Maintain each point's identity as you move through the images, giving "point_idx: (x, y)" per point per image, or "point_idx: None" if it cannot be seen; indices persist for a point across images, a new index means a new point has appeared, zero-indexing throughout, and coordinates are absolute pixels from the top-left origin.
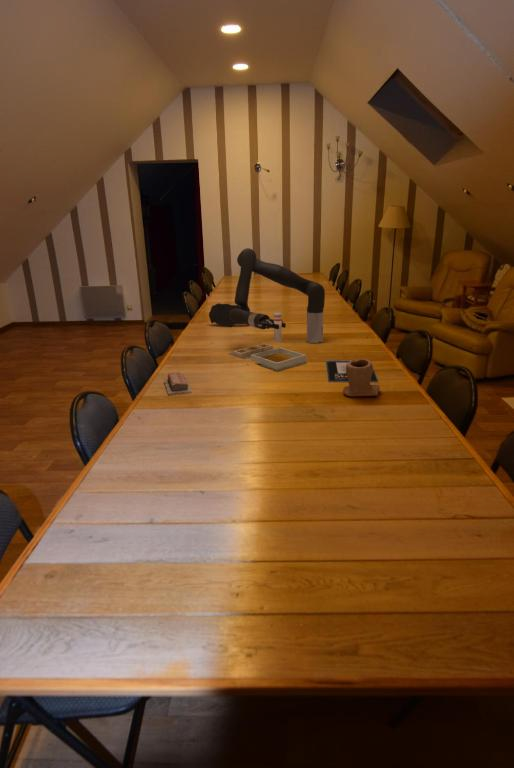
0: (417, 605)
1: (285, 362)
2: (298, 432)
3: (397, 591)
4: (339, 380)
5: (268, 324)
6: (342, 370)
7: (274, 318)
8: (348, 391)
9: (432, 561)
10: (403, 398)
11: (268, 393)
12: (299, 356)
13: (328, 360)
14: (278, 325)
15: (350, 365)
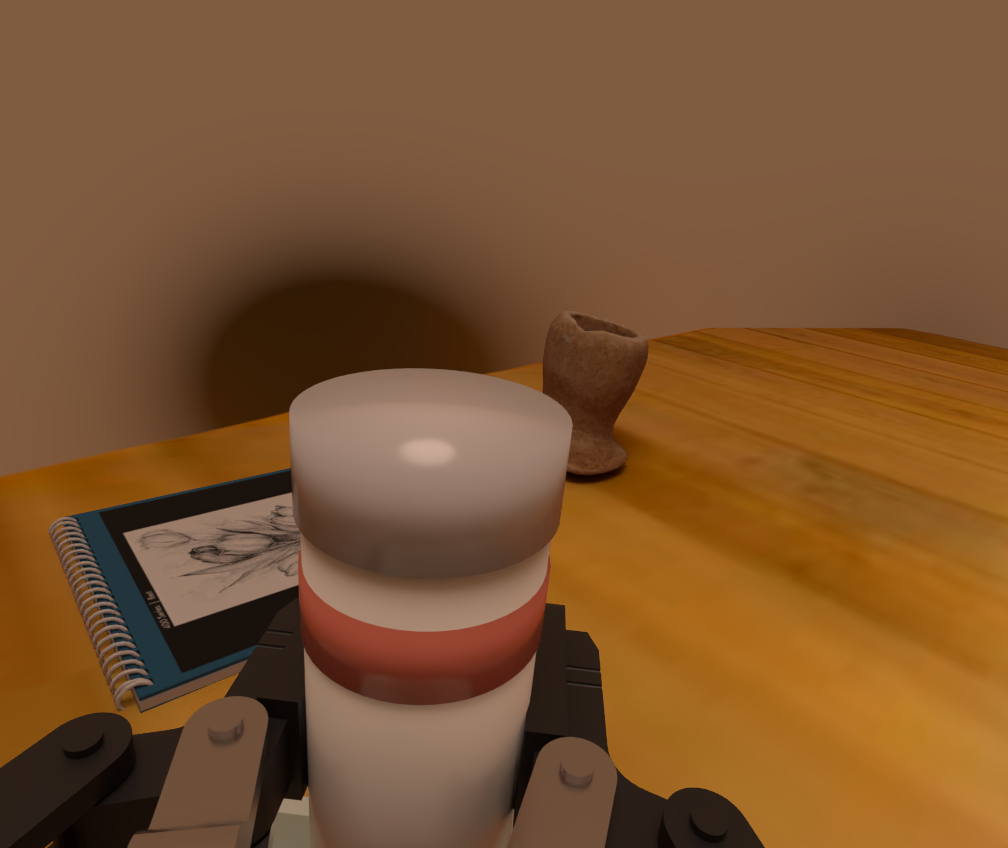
0: (935, 346)
1: None
2: (935, 466)
3: (946, 352)
4: None
5: (708, 808)
6: None
7: (546, 577)
8: (618, 446)
9: (883, 345)
10: None
11: (955, 660)
12: (307, 808)
13: (120, 689)
14: (547, 606)
15: (641, 337)
